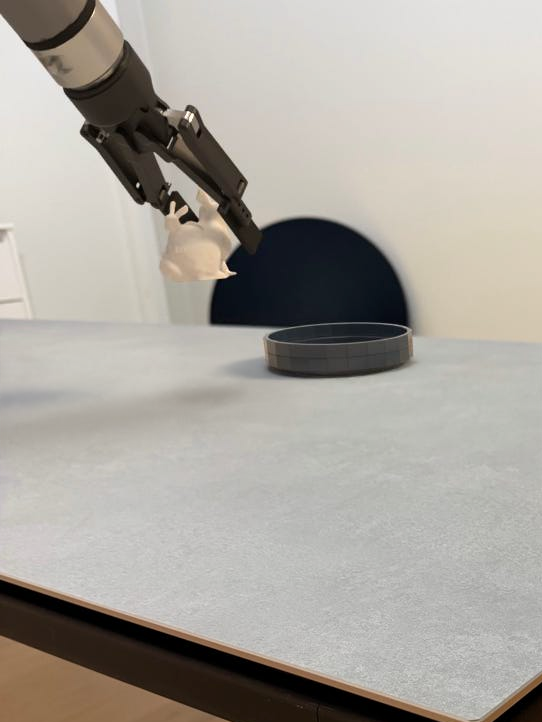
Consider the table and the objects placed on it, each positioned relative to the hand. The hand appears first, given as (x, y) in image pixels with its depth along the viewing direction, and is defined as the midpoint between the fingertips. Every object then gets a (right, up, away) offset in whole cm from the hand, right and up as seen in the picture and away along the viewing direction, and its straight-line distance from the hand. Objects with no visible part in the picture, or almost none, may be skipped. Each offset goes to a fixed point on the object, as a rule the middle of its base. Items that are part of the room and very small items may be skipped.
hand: (229, 244), depth 107 cm
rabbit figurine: (-1, -5, -1) cm, 5 cm away
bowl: (+10, -8, +19) cm, 23 cm away
